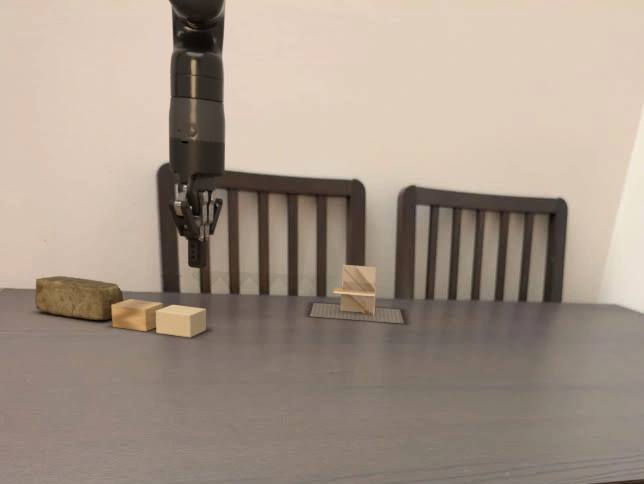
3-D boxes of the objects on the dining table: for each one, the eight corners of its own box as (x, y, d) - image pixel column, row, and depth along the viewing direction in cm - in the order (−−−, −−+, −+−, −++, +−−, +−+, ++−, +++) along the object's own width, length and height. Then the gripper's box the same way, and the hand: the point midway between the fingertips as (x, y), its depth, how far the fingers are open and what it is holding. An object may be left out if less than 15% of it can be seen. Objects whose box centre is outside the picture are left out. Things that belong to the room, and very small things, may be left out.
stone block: (103, 324, 100) (101, 287, 98) (32, 313, 103) (28, 277, 101) (127, 316, 106) (125, 281, 104) (58, 307, 108) (55, 272, 106)
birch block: (112, 326, 100) (111, 304, 98) (131, 320, 104) (130, 298, 103) (146, 331, 99) (145, 309, 97) (163, 324, 103) (162, 303, 102)
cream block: (156, 332, 98) (155, 310, 97) (173, 325, 103) (172, 304, 102) (190, 337, 98) (190, 315, 96) (206, 330, 102) (205, 308, 101)
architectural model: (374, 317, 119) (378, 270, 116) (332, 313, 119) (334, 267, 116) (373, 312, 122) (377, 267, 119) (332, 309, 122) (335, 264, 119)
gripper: (193, 136, 106) (193, 259, 113) (148, 132, 94) (151, 269, 101) (241, 141, 105) (238, 265, 112) (201, 138, 93) (201, 276, 100)
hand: (197, 267), depth 107 cm, fingers closed
